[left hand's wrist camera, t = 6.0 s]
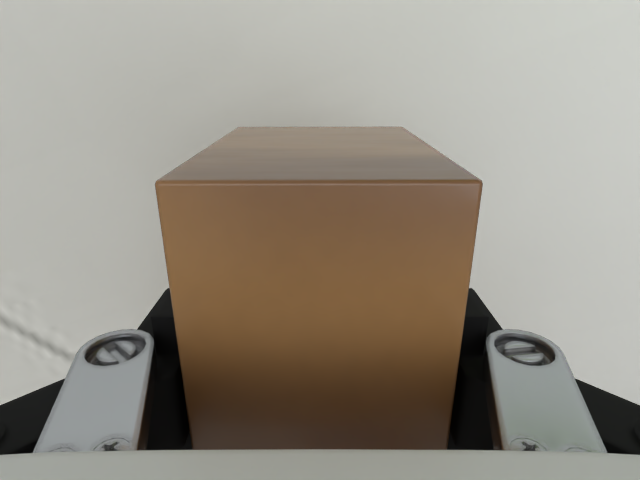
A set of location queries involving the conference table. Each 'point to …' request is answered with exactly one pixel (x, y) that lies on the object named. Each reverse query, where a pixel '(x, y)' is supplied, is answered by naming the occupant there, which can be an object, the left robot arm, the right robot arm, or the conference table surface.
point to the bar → (319, 287)
